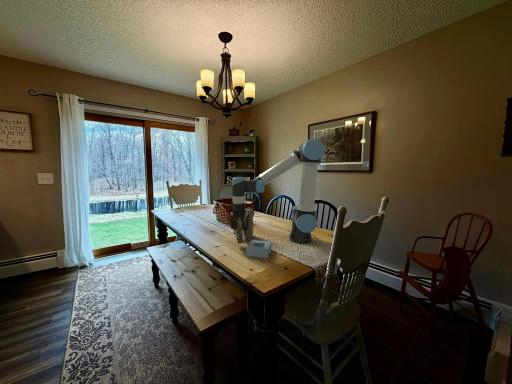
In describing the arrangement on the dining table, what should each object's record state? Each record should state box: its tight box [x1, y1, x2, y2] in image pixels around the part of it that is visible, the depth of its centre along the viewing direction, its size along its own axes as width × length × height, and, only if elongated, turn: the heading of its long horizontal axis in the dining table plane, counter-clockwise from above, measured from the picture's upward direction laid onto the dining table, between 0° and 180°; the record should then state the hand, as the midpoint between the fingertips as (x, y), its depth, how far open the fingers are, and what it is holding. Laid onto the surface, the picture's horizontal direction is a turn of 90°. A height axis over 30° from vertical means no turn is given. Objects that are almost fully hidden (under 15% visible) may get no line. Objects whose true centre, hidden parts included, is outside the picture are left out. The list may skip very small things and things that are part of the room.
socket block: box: [245, 239, 272, 259], centre depth 118 cm, size 12×12×5 cm
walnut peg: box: [236, 223, 245, 245], centre depth 127 cm, size 4×4×12 cm
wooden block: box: [238, 207, 254, 241], centre depth 143 cm, size 10×10×20 cm
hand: (240, 239), depth 127 cm, fingers closed on walnut peg, 4 cm apart
